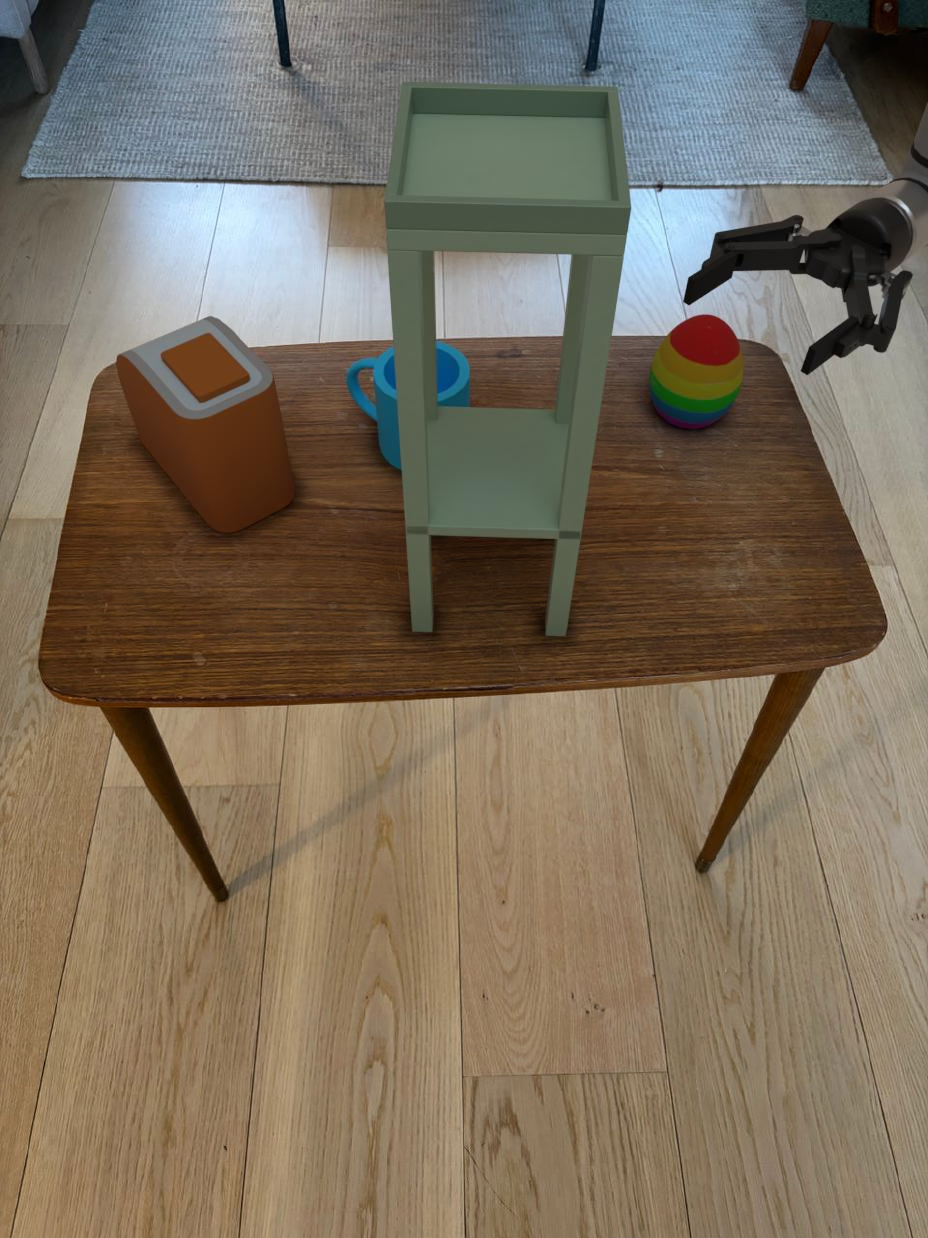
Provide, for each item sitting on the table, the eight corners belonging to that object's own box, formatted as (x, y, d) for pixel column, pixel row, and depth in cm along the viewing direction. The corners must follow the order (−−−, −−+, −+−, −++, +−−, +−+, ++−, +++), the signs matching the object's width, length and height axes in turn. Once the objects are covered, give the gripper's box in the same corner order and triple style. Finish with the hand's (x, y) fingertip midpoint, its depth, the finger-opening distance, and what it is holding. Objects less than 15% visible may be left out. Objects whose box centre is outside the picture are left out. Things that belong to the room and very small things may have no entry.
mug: (485, 430, 90) (487, 358, 84) (440, 486, 86) (438, 416, 80) (375, 386, 94) (368, 314, 87) (326, 439, 90) (316, 367, 83)
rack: (562, 521, 84) (617, 85, 55) (565, 636, 77) (631, 206, 48) (421, 517, 84) (402, 80, 55) (412, 631, 77) (383, 200, 48)
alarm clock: (307, 496, 85) (285, 372, 74) (220, 541, 82) (184, 419, 71) (223, 403, 92) (191, 278, 81) (140, 442, 89) (96, 316, 78)
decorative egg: (638, 431, 90) (656, 342, 82) (648, 374, 95) (666, 284, 87) (728, 446, 89) (755, 357, 81) (734, 387, 94) (760, 298, 86)
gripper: (974, 324, 96) (848, 425, 88) (767, 216, 107) (637, 298, 98) (1009, 255, 90) (877, 357, 82) (785, 149, 101) (649, 229, 92)
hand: (746, 325), depth 90 cm, fingers open, 13 cm apart
